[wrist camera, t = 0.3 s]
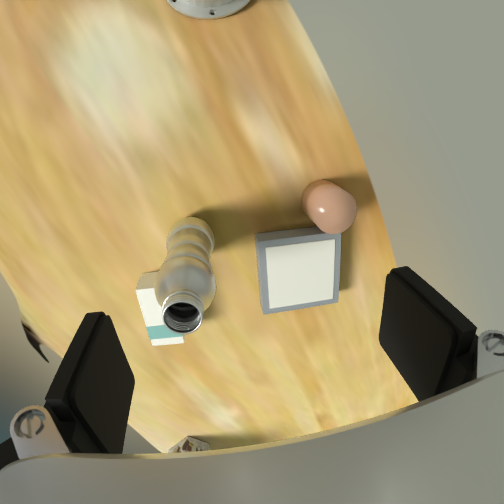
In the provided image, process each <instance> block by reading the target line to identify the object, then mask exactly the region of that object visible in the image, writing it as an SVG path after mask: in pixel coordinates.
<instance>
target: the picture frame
mask: <svg viewBox="0 0 504 504" xmlns="http://www.w3.org/2000/svg"><path fill="white" fill-rule="evenodd" d="M255 242H256V254H257V266H258V278H259V290H260V302H261V307H262V311H263V314H270V313H277V312H283V311H290V310H296V309H302V308H308V307H314V306H320V305H326V304H332V303H337V302H338V296H339V279H340V257H341V233H338V234H329V233H325V232H323V231H322V230H321V229H320V228H319V227H318V226H316V227H308V228H299V229H291V230H282V231H274V232H266V233H258V234H255Z"/></svg>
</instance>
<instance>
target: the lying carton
mask: <svg viewBox="0 0 504 504" xmlns="http://www.w3.org/2000/svg"><path fill="white" fill-rule="evenodd" d="M157 273H158V271H157V272H149V273H142V274H141V277H140V279H139V282H138V285H137V287H136V293H137V297H138V300H139V304H140V307H141V310H142V314H143V317H144V320H145V324H146V328H147V331H148V334H149V337H150V340H151V342H152V345H153V346H157V345H168V344H178V343H184V339H185V334H177V333H174V332H172V331H170V330H169V329H168V328H166V326H165V325H164V323H163V319H162V312H163V311H162V308H161V306H160V305H159V304H158V302H157V299H156V296H155V292H154V282H155V278H156V276H157Z"/></svg>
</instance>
